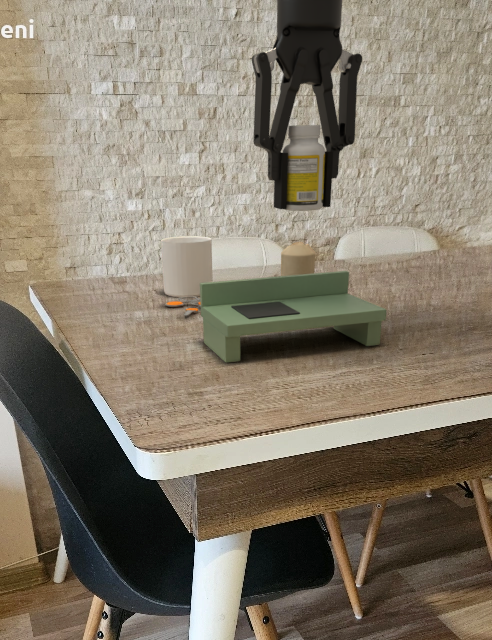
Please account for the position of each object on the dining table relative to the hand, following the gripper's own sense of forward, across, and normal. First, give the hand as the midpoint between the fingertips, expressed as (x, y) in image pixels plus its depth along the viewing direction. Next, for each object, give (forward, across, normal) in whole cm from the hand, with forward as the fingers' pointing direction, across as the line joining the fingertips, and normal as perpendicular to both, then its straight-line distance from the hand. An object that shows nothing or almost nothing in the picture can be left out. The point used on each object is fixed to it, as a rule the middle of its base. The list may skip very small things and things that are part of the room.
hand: (301, 206), depth 87 cm
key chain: (+17, +10, -22) cm, 30 cm away
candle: (+17, -7, -17) cm, 26 cm away
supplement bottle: (+1, 0, 0) cm, 1 cm away
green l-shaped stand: (+17, +2, +4) cm, 18 cm away
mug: (+18, +7, -36) cm, 41 cm away
